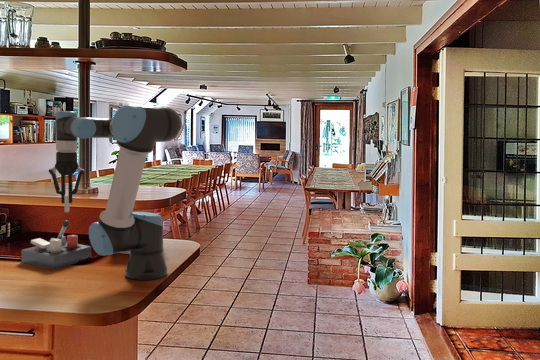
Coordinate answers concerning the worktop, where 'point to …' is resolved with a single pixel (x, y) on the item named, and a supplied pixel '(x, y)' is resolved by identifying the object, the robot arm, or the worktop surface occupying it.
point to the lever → (63, 229)
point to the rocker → (40, 243)
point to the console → (55, 255)
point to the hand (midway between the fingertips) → (67, 211)
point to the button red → (72, 241)
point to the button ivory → (55, 246)
